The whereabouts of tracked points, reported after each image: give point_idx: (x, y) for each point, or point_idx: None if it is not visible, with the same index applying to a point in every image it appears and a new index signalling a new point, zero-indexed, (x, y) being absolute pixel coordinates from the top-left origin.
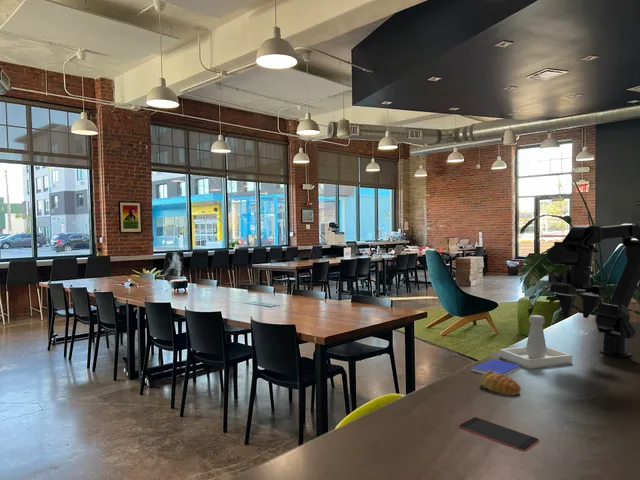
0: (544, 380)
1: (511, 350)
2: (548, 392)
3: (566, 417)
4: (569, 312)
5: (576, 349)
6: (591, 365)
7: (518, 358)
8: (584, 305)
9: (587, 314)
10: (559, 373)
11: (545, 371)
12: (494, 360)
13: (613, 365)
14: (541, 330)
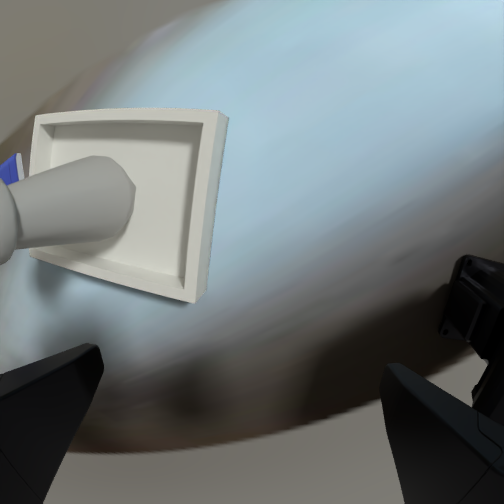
0: (37, 321)
1: (67, 122)
2: (19, 354)
3: None
4: (76, 413)
5: (436, 169)
6: (251, 338)
7: None
8: (443, 447)
9: (385, 417)
10: (90, 319)
11: (70, 287)
12: (8, 168)
13: (324, 374)
14: (25, 246)
